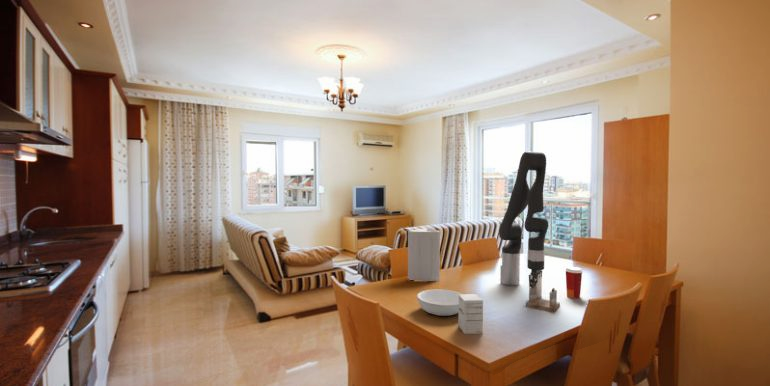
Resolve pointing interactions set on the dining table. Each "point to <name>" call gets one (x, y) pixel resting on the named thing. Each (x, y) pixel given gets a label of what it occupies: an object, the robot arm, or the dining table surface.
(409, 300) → the dining table surface
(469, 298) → the supplement box
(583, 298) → the dining table surface
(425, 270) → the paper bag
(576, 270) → the paper cup
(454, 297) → the serving bowl
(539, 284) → the roll
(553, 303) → the holder
